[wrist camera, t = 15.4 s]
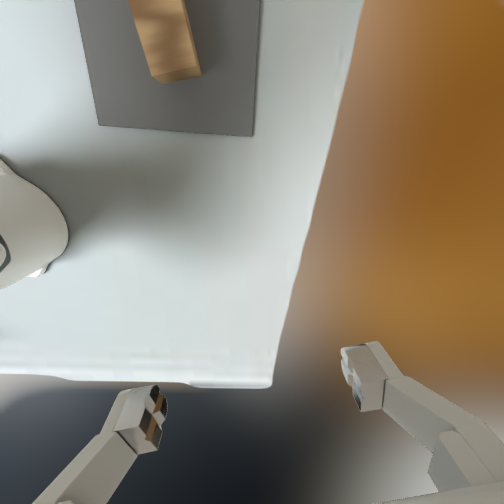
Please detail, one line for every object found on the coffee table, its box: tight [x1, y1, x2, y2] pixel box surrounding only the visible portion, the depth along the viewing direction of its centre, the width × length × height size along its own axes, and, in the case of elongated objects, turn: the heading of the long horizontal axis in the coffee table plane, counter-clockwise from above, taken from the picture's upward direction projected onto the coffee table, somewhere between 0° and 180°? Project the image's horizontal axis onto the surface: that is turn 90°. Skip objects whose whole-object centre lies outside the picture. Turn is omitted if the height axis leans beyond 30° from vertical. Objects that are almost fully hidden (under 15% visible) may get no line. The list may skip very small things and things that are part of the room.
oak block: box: [128, 0, 202, 84], centre depth 24 cm, size 5×4×8 cm
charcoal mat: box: [74, 0, 260, 137], centre depth 27 cm, size 20×18×1 cm
